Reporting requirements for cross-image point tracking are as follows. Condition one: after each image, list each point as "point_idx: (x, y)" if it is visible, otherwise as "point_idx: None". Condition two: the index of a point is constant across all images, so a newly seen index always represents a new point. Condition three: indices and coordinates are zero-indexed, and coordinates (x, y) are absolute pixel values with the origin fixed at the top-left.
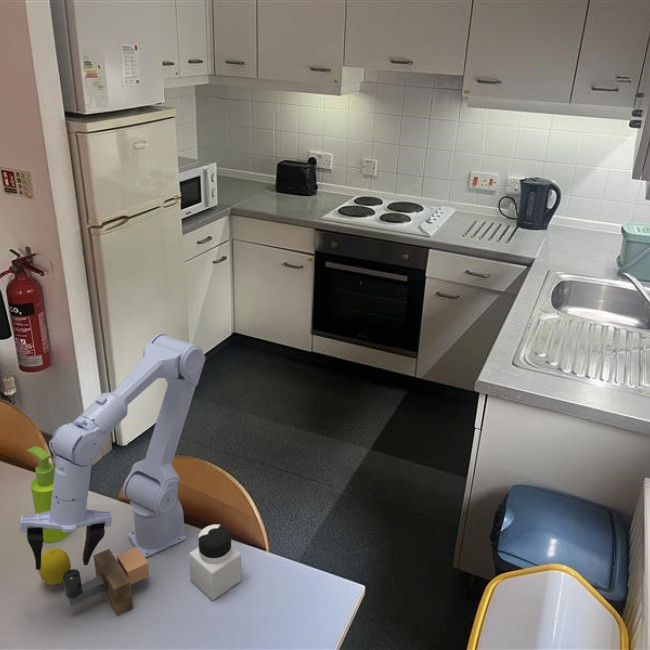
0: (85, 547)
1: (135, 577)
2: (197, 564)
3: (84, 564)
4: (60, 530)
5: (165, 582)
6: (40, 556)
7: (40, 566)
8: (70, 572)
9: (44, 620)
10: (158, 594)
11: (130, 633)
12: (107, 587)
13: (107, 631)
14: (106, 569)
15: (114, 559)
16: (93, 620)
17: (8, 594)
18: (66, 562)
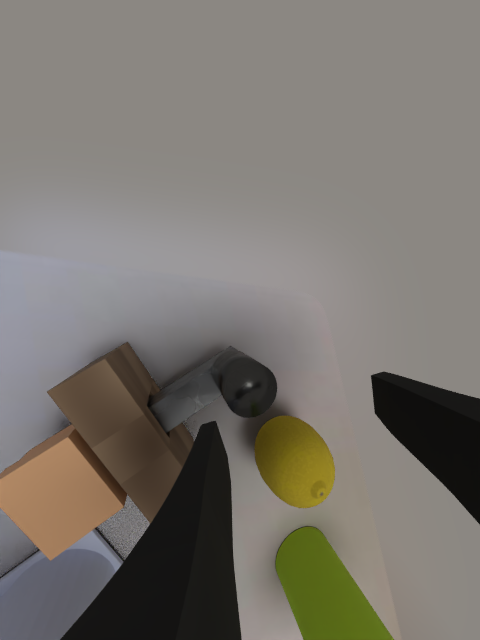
0: (224, 510)
1: (62, 433)
2: None
3: (213, 423)
4: (298, 565)
5: (8, 446)
6: (439, 400)
7: (383, 379)
8: (257, 402)
9: (273, 340)
10: (24, 405)
11: (85, 292)
12: (150, 399)
13: (143, 303)
14: (149, 443)
15: (129, 488)
16: (179, 334)
17: (341, 399)
18: (270, 465)
